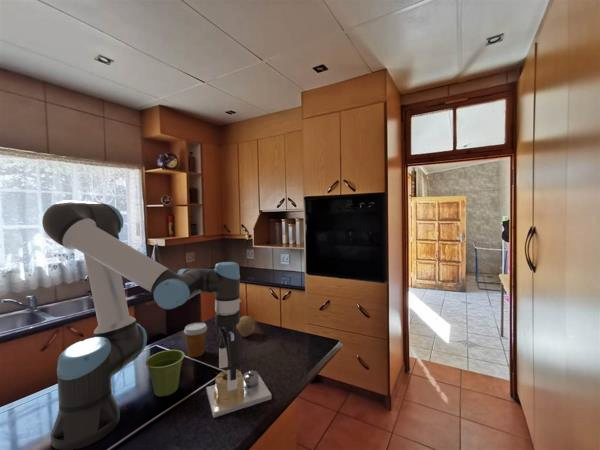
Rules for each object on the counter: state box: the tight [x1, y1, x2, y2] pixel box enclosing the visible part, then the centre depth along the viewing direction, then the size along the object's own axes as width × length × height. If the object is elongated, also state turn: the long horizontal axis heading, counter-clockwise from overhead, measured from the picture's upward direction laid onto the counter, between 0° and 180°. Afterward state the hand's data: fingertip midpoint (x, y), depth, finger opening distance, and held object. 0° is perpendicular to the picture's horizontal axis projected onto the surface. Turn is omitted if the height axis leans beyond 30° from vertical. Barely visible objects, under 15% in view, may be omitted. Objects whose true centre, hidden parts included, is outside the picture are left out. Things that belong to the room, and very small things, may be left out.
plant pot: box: [145, 349, 186, 398], centre depth 94 cm, size 12×12×11 cm
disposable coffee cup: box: [183, 322, 208, 358], centre depth 120 cm, size 10×10×12 cm
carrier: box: [205, 369, 272, 418], centre depth 91 cm, size 18×14×6 cm
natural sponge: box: [235, 315, 256, 338], centre depth 138 cm, size 9×9×10 cm
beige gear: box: [214, 369, 244, 405], centre depth 89 cm, size 9×9×6 cm
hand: (227, 377), depth 89 cm, fingers open, 13 cm apart
